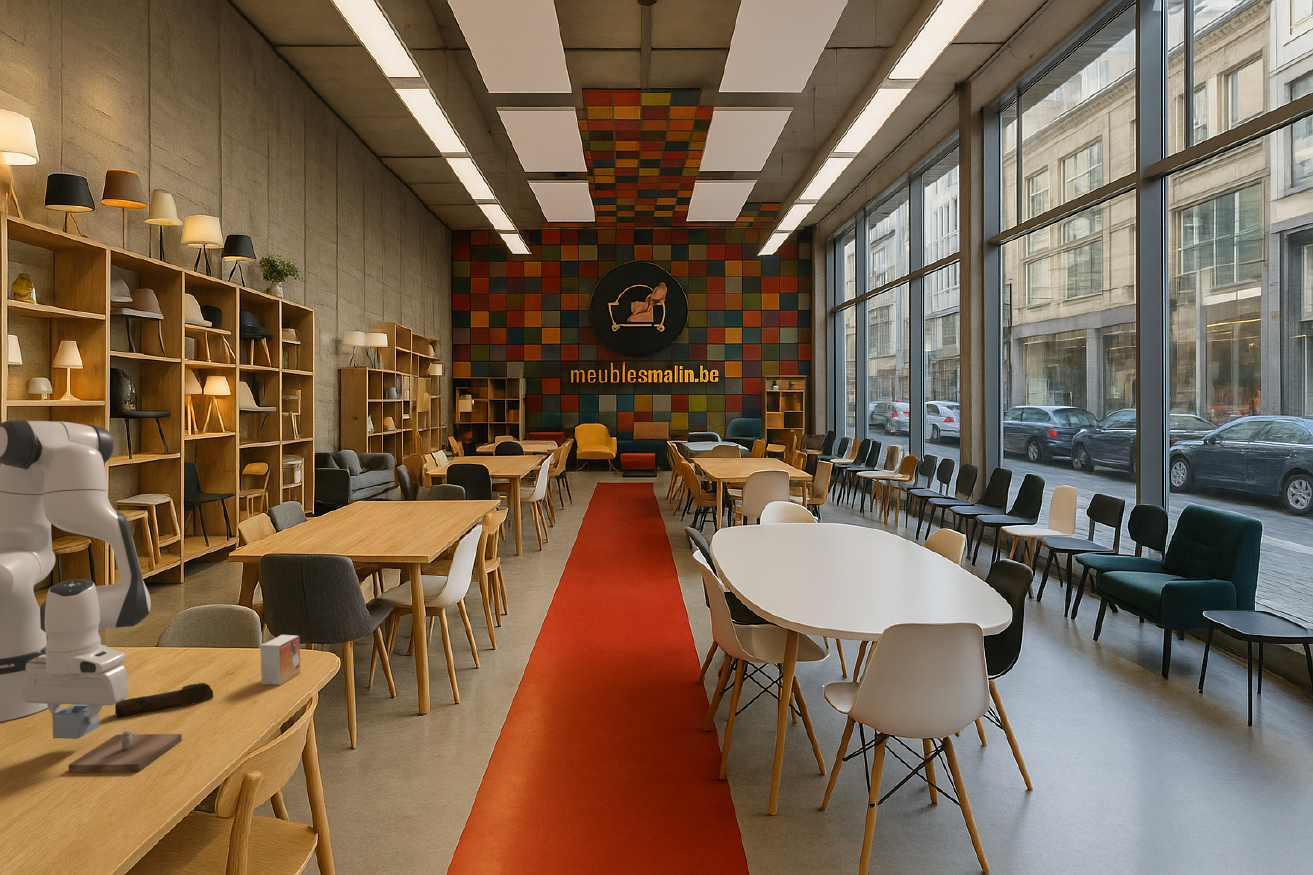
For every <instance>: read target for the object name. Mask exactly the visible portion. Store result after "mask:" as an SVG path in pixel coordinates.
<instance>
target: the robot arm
mask: <svg viewBox="0 0 1313 875" xmlns="http://www.w3.org/2000/svg"><path fill="white" fill-rule="evenodd" d="M114 444H115V443H114V439H113V437H112V435H111V433H110V432H109V430H108V429H106V428H104V427H101V426H99V425H94V424H82V423H75V422H70V421H58V420H56V421H49V420H45V421H44V420H25V419H16V420H6V421H2V422H0V722H4V721H5V722H6V721H11V720H14V719H18V718H22V717H26V716H29V715H32V714H35V713H39V712H41V711H43V710H46V709H48V711H49V713H51V716H52V715H53V714H55V713H57V712H59V711H61V710H63V709H64V708H63V706H62V705H73V704H81V705H89V709H91V711H90V713H89V715H87V716H85V717H84V720H85V724H94V723H96V722H97V721H98V713H100V712H101V711H102V709H103V707H104V706H114V705H116V703H118V702H120V701H122V700H126V698H127V696H128V693H129V682H128V673H127V670H126V667H125V666H124V665H123V663H125V661H126V654H125V653H124V652H122V651H120V650H116V649H114V648H111V647H109V646H107V645H105V644H103V643H102V639H101V635H100V634H99V630H104V629H112V628H129V627H135V626H137V625H138V624H140V623H141V622H143V621H144V619H146V618H147V617H148V616H149V614H150V611H151V606H152V602H151V595H150V593H149V589H148V588H147V586H146V584H145V581H144V580H143V575H142V570H141V566H140V563H139V558H138V553H137V550H136V545H135V543H134V538H133V537H134V536H133V535H132V531H131V528H130V524H129V522H128V519H127V518H126V515H124V513H121V512H120V511H117V510H115V509H114V507H113V506H112V504H111V503H110V498H109V493H108V491H109V490H108V478H107V473H106V472H107V471H106V467H105V464H106V463H107V462H108V461H109V460H110V458H112V455H113V453H114V446H115V445H114ZM52 525H53V526H54V527H55V528H58V529H60V530H61V531H65V532H67V533H72V534H76V535H81V536H85V537H89V538H95V539H99V540H101V541H103V542H105V543H107V544H108V545H109V546H110V547H111V548H112V550H113V553H114V557H115V563H116V566H117V571H118V573H119V581H118V582H116V583H113V584H105V585H96V584H95V582H93V581H92V580H89V579H85V578H84V579H82V578H79V579H78V578H76V579H68V580H64V581H61V582H58V583H55V584H54V585H52V586H50V587H49V589H48V591H47V595H46V599H45V600H44V601H43V602H42V603H41V604H40V606H39V605H38V604H39V603H38V602H37V599H36V596H35V592H34V587H35V585H36V584H38V583H40V582H42V581H44V580H45V579H46V578H47V577H48V576H49V574H50V573H51V572H52V570H53V568H54V566H55V564H56V554H55V553H54V551H53V541H52V540H53V539H52Z"/></svg>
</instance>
